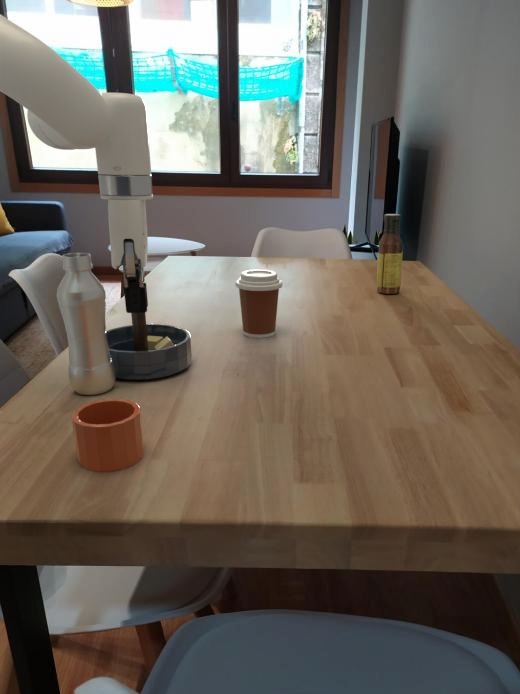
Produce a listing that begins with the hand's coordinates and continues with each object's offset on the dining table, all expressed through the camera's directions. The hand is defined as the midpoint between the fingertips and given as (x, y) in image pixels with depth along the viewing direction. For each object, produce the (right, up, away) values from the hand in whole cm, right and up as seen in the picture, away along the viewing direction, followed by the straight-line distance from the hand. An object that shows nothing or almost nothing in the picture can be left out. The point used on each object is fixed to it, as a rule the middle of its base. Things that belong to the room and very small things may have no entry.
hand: (137, 308), depth 87 cm
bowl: (0, -9, +4) cm, 10 cm away
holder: (+4, -21, -24) cm, 32 cm away
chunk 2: (+5, -7, +2) cm, 8 cm away
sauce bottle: (+51, +12, +57) cm, 77 cm away
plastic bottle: (-5, -13, -6) cm, 16 cm away
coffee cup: (+18, -2, +22) cm, 29 cm away
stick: (0, -8, +3) cm, 9 cm away
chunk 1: (+1, -6, +6) cm, 8 cm away
